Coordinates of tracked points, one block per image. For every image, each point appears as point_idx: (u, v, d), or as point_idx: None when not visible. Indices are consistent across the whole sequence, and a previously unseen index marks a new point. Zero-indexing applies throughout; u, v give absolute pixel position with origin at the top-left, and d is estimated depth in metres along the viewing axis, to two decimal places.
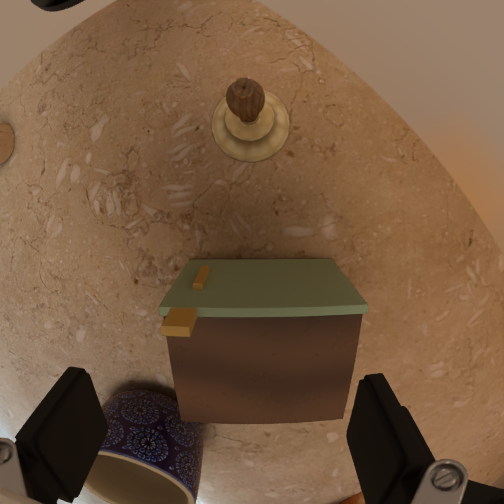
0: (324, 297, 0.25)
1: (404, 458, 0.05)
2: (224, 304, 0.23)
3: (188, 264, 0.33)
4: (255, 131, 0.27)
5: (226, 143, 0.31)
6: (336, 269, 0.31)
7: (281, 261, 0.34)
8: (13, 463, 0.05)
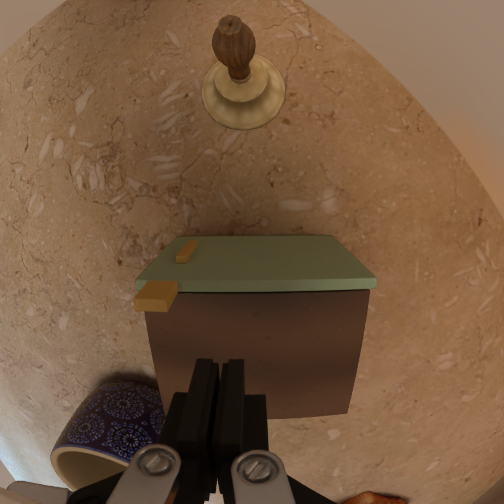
0: (326, 270, 0.21)
1: (219, 437, 0.07)
2: (209, 277, 0.20)
3: (174, 240, 0.30)
4: (247, 91, 0.23)
5: (216, 109, 0.28)
6: (338, 245, 0.28)
7: (277, 237, 0.31)
8: (164, 481, 0.05)
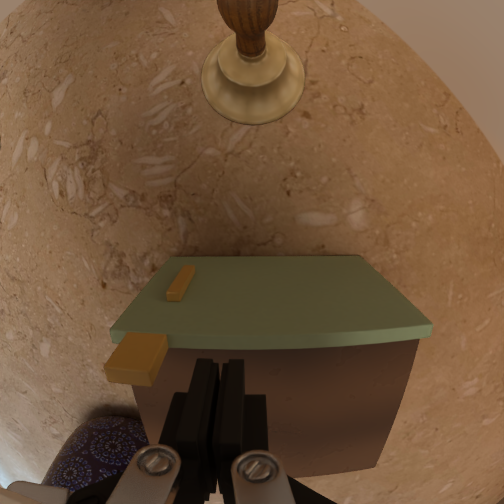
0: (368, 314, 0.15)
1: (219, 437, 0.07)
2: (212, 329, 0.14)
3: (167, 263, 0.24)
4: (260, 73, 0.17)
5: (220, 98, 0.22)
6: (371, 270, 0.22)
7: (295, 259, 0.25)
8: (164, 481, 0.05)
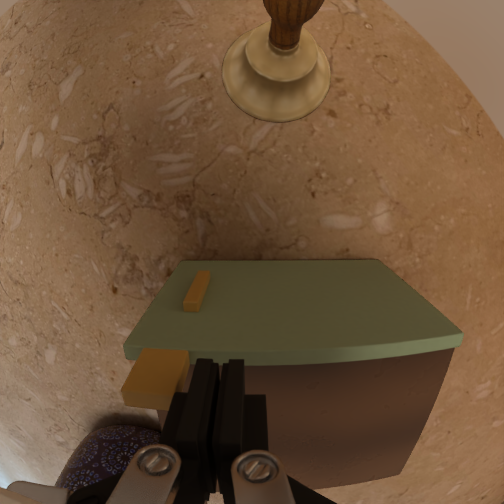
0: (398, 323, 0.14)
1: (219, 437, 0.07)
2: (237, 343, 0.13)
3: (179, 267, 0.23)
4: (292, 67, 0.16)
5: (243, 93, 0.20)
6: (393, 275, 0.21)
7: (313, 264, 0.23)
8: (164, 481, 0.05)
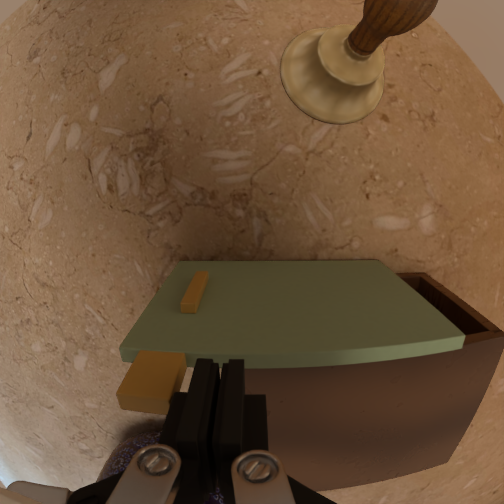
0: (399, 325, 0.14)
1: (219, 437, 0.07)
2: (235, 346, 0.13)
3: (177, 268, 0.23)
4: (364, 72, 0.16)
5: (305, 93, 0.20)
6: (393, 276, 0.20)
7: (313, 264, 0.23)
8: (164, 481, 0.05)
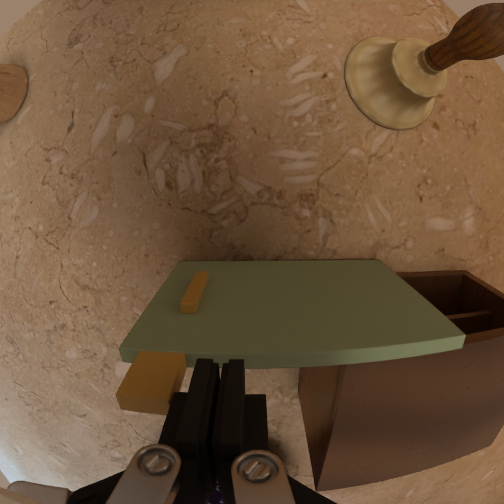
0: (399, 325, 0.14)
1: (219, 437, 0.07)
2: (235, 346, 0.13)
3: (177, 268, 0.23)
4: (433, 85, 0.16)
5: (371, 99, 0.20)
6: (393, 276, 0.20)
7: (313, 264, 0.23)
8: (164, 482, 0.05)
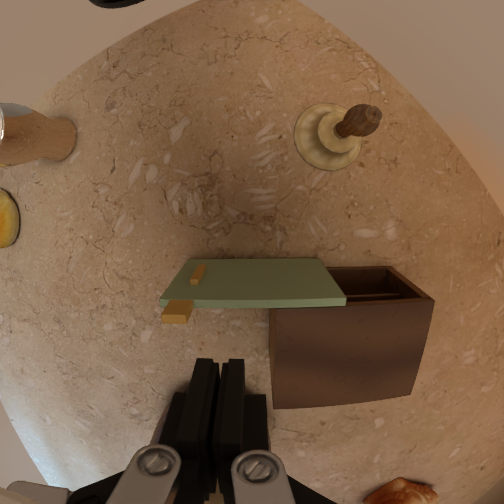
0: (307, 291, 0.28)
1: (219, 437, 0.07)
2: (217, 297, 0.27)
3: (187, 263, 0.37)
4: (345, 145, 0.30)
5: (310, 153, 0.34)
6: (321, 267, 0.34)
7: (272, 261, 0.37)
8: (163, 481, 0.05)
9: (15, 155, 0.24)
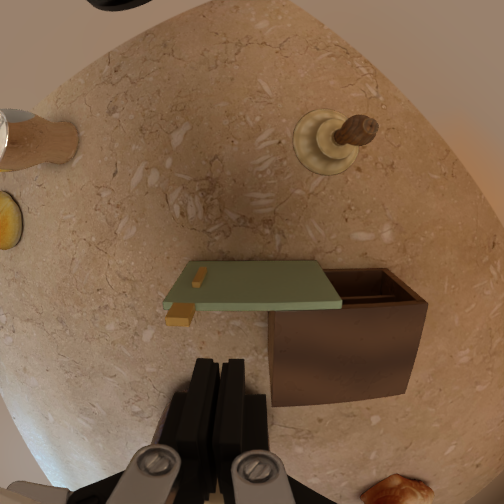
0: (304, 294, 0.29)
1: (219, 437, 0.07)
2: (218, 300, 0.28)
3: (188, 265, 0.38)
4: (343, 151, 0.31)
5: (308, 158, 0.35)
6: (319, 270, 0.35)
7: (271, 263, 0.38)
8: (164, 481, 0.05)
9: (19, 161, 0.25)
